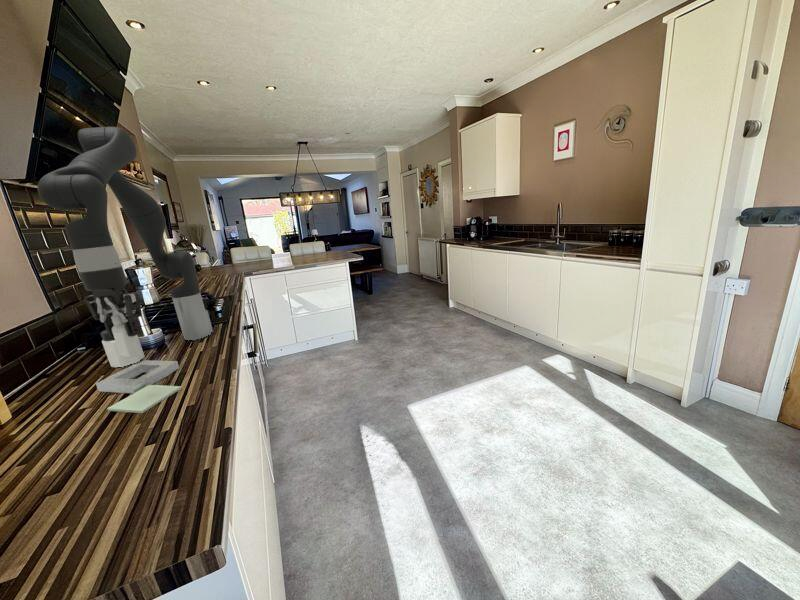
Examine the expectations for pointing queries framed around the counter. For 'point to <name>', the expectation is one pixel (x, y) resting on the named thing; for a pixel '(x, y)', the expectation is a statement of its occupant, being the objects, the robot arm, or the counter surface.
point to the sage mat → (144, 399)
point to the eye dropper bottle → (124, 339)
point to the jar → (114, 353)
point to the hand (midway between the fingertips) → (124, 335)
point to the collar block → (123, 380)
